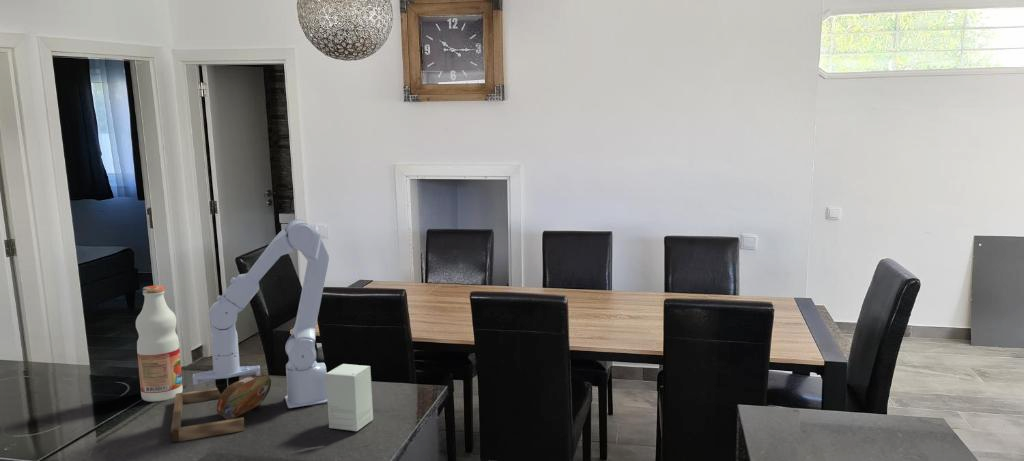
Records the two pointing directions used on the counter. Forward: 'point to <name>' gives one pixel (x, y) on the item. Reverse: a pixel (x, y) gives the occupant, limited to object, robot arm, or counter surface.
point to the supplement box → (349, 397)
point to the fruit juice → (158, 348)
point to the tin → (243, 396)
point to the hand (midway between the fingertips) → (229, 408)
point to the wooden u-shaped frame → (200, 429)
